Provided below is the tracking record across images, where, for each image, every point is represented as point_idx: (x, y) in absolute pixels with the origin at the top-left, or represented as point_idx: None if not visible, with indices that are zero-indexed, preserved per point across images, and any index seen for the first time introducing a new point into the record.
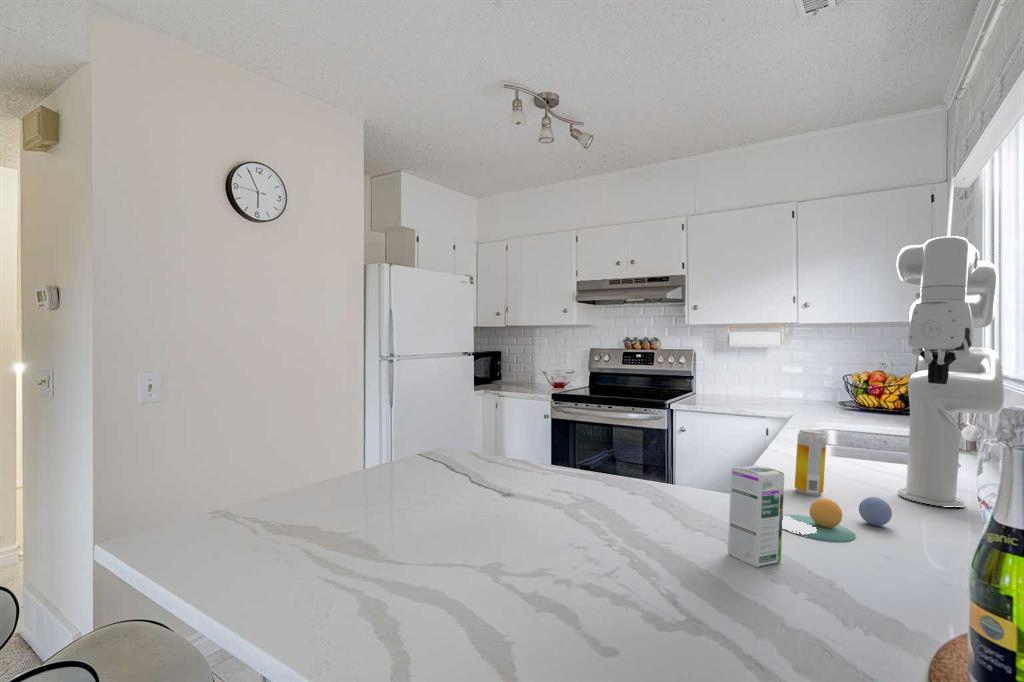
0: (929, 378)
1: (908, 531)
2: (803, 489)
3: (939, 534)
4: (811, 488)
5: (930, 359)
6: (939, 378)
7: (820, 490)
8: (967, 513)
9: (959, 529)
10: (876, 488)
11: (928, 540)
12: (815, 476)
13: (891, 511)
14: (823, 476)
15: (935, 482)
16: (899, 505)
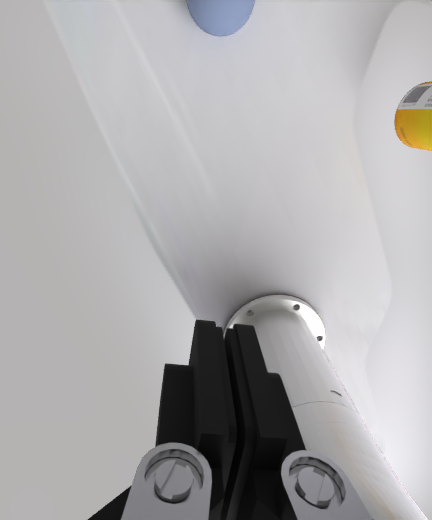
0: (248, 338)
1: (167, 46)
2: (427, 82)
3: (137, 102)
4: (413, 90)
5: (298, 504)
6: (191, 367)
7: (398, 114)
8: None
9: (147, 189)
10: (362, 322)
11: (117, 22)
12: (427, 96)
13: (190, 8)
14: (417, 126)
15: (261, 337)
16: (279, 239)
